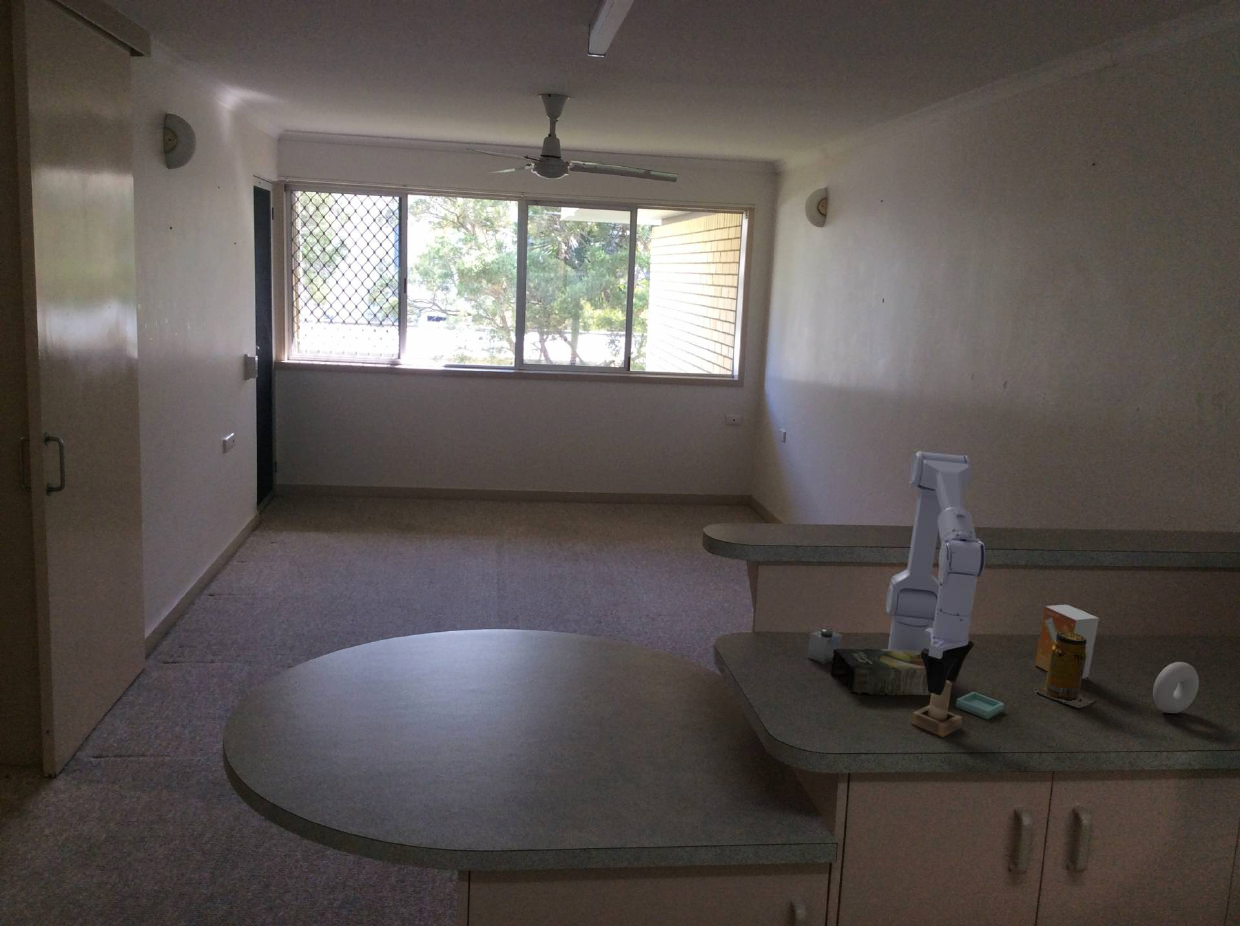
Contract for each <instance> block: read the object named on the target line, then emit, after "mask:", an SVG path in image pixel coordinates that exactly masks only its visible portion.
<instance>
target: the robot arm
mask: <svg viewBox="0 0 1240 926" xmlns="http://www.w3.org/2000/svg"><path fill="white" fill-rule="evenodd" d="M910 465H911V466H910V472H909V478H908V484H909V486H908V487H909V488H910V489H911V490H914V491H916V495H917V497H916V498H917V501H916V506H915V514H914V522H913V528H912V535H911V540H910V548H909V554H908V560H907V567H906V569H905V570H903V571H901V572H900V573H897V574H894V575H893V576H892V577H891V579H890V582H889V583H890V584H889V587H888V589H887V593H886V598H885V599H886V600H885V608H886V613H887V614H888V616H889V617H891V625H890V632H889V639H888V646H887V649H894V650H918V651H921V658H922V660H923V662H924V665H925V669H926V675H927V686H928V692H930V693H933V694H937V695H941V694H942V692H943V690H944V687H945V684H946V680H948V681H950V682H951V683H956V681H957V679H958V677H959V675H960V671H961V669H962V666H963V664H964V662H965V659H966V658H967V655H969V654H970V652H971V651H972V649H973V647H974V645H975V643H974V642H973V641H971V640H970V637H969V632H970V627H971V621H972V620H971V619H972V613H973V608H974V601H975V595H976V588H977V583H978V582H977V581H978V578H980V577H981V576H982V575H983V573H984V571H985V565H986V548H985V544H984V542H983V541H981V539H980V538H978V537H976V530H975V526H974V521H973V516H972V514H971V513H970V512H969V511H968V510H966V509H965V508H964V499H963V498H964V496H963V495H964V494H963V492H964V490H966V488H967V486H968V485H969V483H970V480H971V476H972V461H971V459H970V458H969V455H967V454H965V455H960V454H959V455H958V454H957V455H956V454H945V453H937V452H929V451H928V452H927V451H923V450H918V451H917V452H916V453H914V455H913V457H912V460H911V464H910ZM938 535H939V538H940V545H941V546H940V549H939V554H938V555H939V556H938V572H937V573H938V574H937V575H938V576H937V577H938V578H936V577H935V576H934V575H933V574H932V573H933V566H934V561H935V555H936V546H937V541H938Z"/></svg>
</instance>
